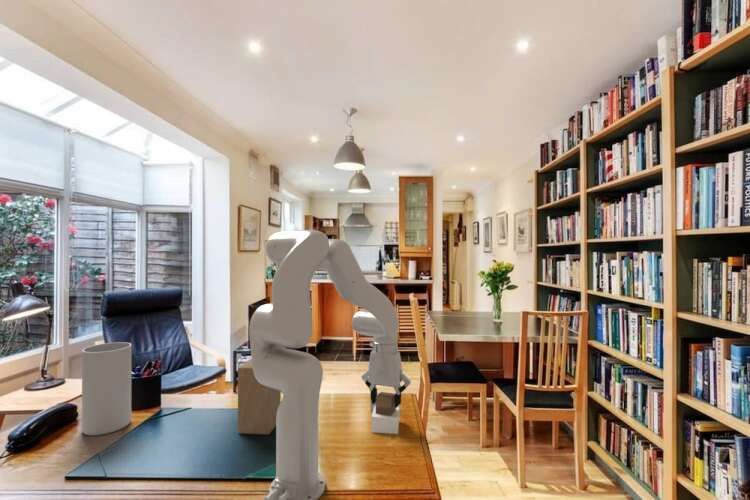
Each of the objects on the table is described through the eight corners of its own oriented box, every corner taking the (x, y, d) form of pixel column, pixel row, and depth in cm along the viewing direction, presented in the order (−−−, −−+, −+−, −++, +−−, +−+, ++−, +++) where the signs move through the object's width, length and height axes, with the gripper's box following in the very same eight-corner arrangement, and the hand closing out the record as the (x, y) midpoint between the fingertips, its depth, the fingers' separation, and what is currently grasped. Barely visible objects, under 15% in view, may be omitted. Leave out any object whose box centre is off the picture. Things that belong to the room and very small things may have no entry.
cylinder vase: (112, 436, 108) (112, 352, 108) (70, 436, 108) (71, 352, 108) (140, 417, 120) (140, 342, 120) (103, 417, 121) (103, 342, 121)
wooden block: (281, 420, 119) (281, 358, 119) (269, 435, 109) (269, 368, 109) (251, 418, 120) (251, 358, 120) (237, 433, 110) (237, 367, 110)
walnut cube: (391, 416, 111) (391, 399, 111) (375, 413, 113) (375, 397, 113) (395, 409, 116) (395, 393, 116) (381, 407, 117) (381, 391, 117)
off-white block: (397, 434, 110) (397, 418, 110) (371, 433, 110) (371, 416, 110) (399, 422, 117) (399, 406, 117) (374, 421, 118) (374, 405, 118)
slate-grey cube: (384, 414, 123) (384, 399, 123) (370, 411, 125) (370, 397, 125) (388, 408, 128) (388, 393, 128) (375, 406, 130) (375, 392, 130)
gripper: (355, 347, 114) (355, 404, 114) (409, 353, 108) (409, 413, 107) (364, 342, 121) (364, 395, 121) (415, 346, 115) (415, 403, 114)
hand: (385, 403), depth 114 cm, fingers open, 7 cm apart
